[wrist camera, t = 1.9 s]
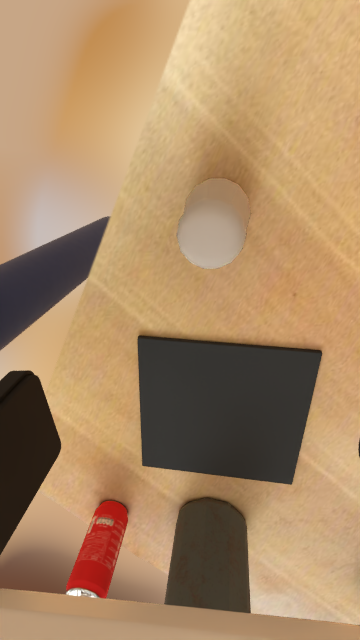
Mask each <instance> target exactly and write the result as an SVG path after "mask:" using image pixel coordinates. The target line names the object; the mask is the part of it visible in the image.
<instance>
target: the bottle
mask: <svg viewBox="0 0 360 640" xmlns="http://www.w3.org/2000/svg"><path fill="white" fill-rule="evenodd" d="M164 604H165V605H175V606H185V607H194V608H204V609H213V610H223V611H232V612H242V613H251V611H250V589H249V566H248V543H247V526H246V523H245V520H244V518H243V516H242V515H241V514H240V513H239V512H238V511H237V510H236V509H234V508H233V507H232V506H231V505H230V504H229V503H227V502H223V501H219V500H215V499H211V498H205V499H200V500H195V501H191V502H189V503H187V504H186V505H185V506H184V507H183V508H182V509H181V510H180V512H179V516H178V519H177V523H176V529H175V536H174V543H173V550H172V556H171V563H170V570H169V576H168V583H167V591H166V597H165V603H164Z"/></svg>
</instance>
